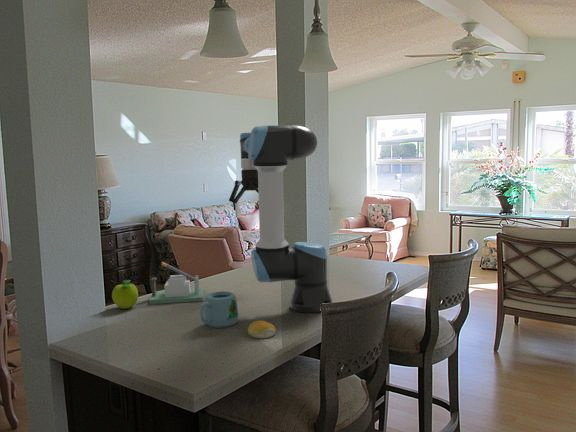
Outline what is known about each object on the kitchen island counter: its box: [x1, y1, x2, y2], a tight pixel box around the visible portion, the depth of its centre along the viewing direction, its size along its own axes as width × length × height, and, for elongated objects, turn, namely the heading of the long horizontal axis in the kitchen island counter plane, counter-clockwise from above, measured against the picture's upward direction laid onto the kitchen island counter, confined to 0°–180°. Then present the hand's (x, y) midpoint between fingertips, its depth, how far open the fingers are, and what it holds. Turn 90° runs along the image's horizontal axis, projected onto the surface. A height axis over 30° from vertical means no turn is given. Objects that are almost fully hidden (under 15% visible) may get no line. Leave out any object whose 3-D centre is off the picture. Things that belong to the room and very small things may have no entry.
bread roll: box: [247, 320, 277, 339], centre depth 160 cm, size 8×9×4 cm
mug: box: [199, 291, 239, 329], centre depth 169 cm, size 15×11×10 cm
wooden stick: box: [160, 261, 195, 282], centre depth 203 cm, size 16×2×1 cm, turn 96°
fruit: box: [111, 279, 139, 310], centre depth 192 cm, size 9×9×10 cm
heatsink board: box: [148, 274, 206, 305], centre depth 204 cm, size 20×13×8 cm, turn 95°
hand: (251, 217), depth 226 cm, fingers open, 13 cm apart
